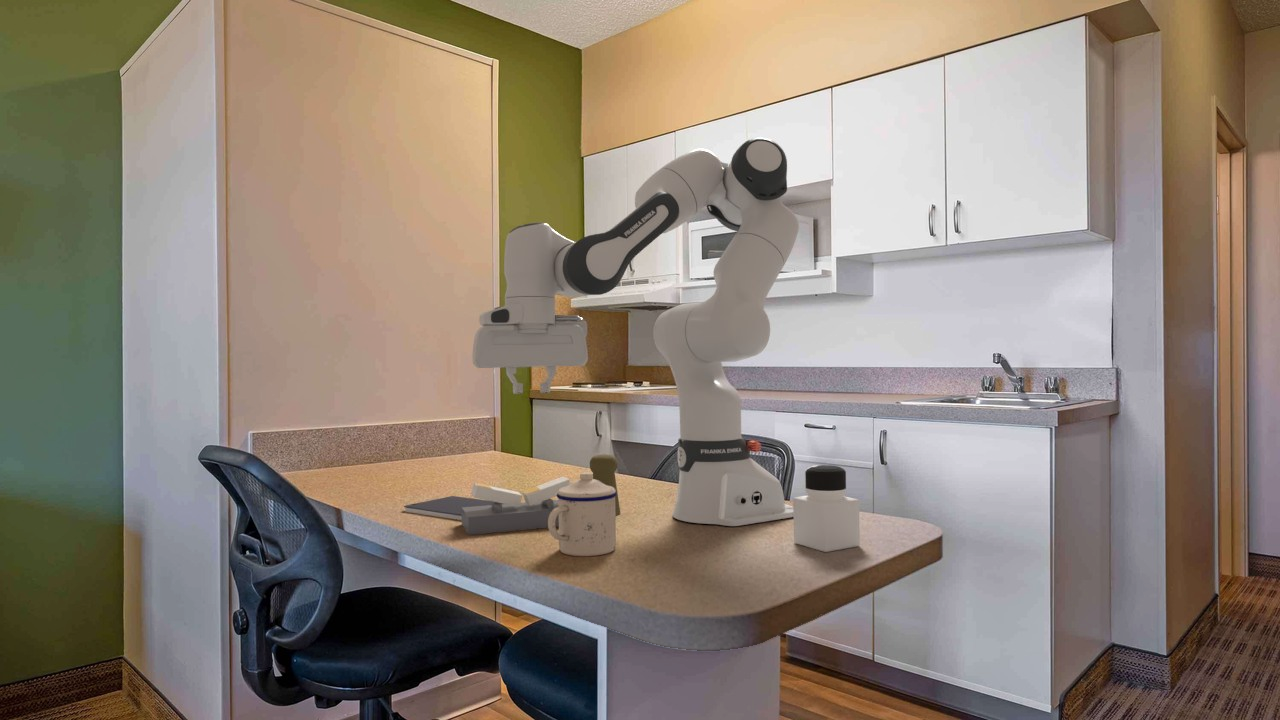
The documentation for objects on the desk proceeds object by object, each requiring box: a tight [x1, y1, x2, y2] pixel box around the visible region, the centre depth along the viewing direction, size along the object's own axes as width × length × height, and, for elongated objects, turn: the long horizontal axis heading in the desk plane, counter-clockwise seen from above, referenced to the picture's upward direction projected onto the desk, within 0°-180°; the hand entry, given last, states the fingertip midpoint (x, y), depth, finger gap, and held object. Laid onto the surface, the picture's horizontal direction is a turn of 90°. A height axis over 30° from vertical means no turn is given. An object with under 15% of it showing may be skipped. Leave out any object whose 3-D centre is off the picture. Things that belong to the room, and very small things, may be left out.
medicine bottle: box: [792, 464, 861, 553], centre depth 118 cm, size 7×7×12 cm
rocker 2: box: [521, 476, 572, 506], centre depth 138 cm, size 8×4×2 cm, turn 110°
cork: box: [589, 453, 621, 516], centre depth 145 cm, size 6×6×11 cm
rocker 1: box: [470, 482, 523, 507], centre depth 135 cm, size 8×4×2 cm, turn 110°
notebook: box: [403, 495, 503, 521], centre depth 150 cm, size 13×2×21 cm
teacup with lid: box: [547, 472, 617, 557], centre depth 117 cm, size 12×9×12 cm
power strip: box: [461, 498, 559, 536], centre depth 138 cm, size 26×9×4 cm, turn 110°
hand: (531, 393), depth 137 cm, fingers open, 3 cm apart
